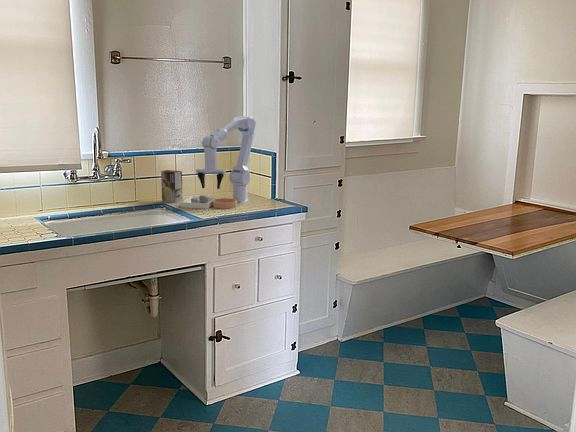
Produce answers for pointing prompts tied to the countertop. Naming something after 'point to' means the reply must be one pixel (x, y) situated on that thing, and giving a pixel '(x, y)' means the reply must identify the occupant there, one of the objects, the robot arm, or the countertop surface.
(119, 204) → the countertop surface
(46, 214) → the countertop surface
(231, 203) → the bowl
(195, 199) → the stone
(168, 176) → the coffee box
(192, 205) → the parts tray
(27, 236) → the countertop surface
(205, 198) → the stone
